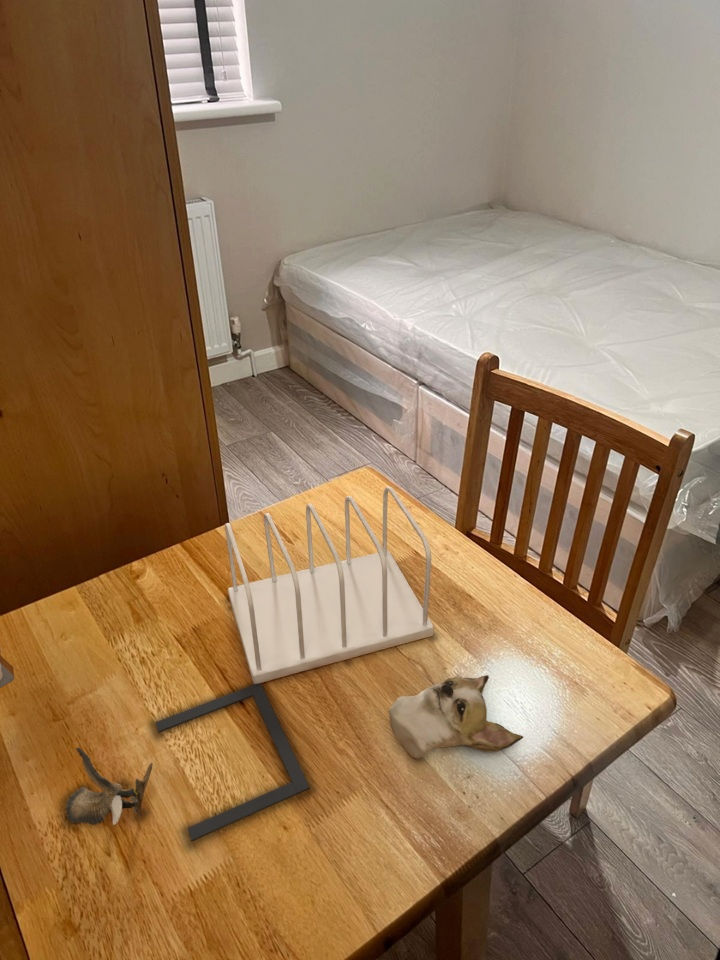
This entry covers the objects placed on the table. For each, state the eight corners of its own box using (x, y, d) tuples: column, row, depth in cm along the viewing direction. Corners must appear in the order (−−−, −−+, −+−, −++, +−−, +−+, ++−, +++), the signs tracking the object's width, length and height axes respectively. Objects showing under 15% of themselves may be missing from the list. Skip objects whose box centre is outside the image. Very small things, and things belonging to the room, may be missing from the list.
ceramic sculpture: (375, 665, 84) (492, 639, 88) (371, 713, 89) (482, 687, 93) (407, 741, 76) (534, 709, 80) (401, 789, 81) (521, 757, 85)
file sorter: (253, 686, 93) (239, 596, 84) (228, 598, 107) (214, 512, 98) (434, 636, 99) (438, 547, 91) (388, 559, 113) (388, 475, 104)
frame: (191, 841, 77) (191, 840, 77) (155, 723, 89) (155, 722, 89) (309, 788, 82) (309, 787, 81) (260, 683, 94) (260, 681, 94)
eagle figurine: (161, 762, 83) (85, 744, 84) (147, 763, 77) (64, 743, 77) (139, 835, 81) (61, 816, 81) (123, 842, 74) (37, 821, 74)
